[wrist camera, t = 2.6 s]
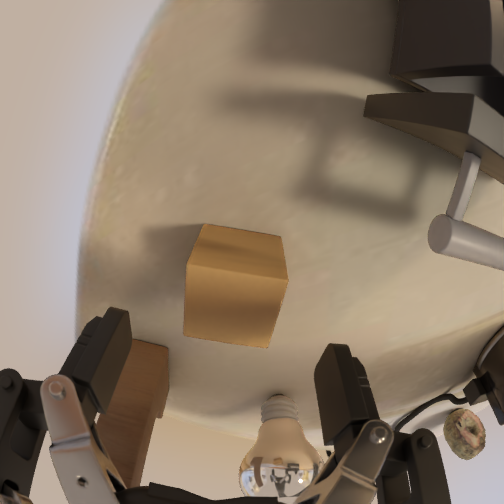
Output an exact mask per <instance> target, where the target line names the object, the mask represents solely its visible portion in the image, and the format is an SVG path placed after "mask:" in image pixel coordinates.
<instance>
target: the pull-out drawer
mask: <svg viewBox="0 0 504 504" xmlns="http://www.w3.org/2000/svg"><path fill="white" fill-rule="evenodd" d="M389 75H390V76H392V77H394V78H396V79H399V80H401V81H403V82H405V83H407V84H409V85H411V86H414V87H416V88H418V89H420V90H422V91H424V92H409V93H389V94H376V95H368V96H367V100H366V104H365V109H364V114H363V116H364V117H366V118H369V119H372V120H375V121H377V122H380V123H383V124H386V125H388V126H391V127H393V128H396V129H398V130H401V131H403V132H406V133H408V134H410V135H413V136H415V137H417V138H420V139H422V140H424V141H426V142H428V143H431V144H433V145H435V146H437V147H439V148H441V149H443V150H445V151H447V152H449V153H451V154H453V155H455V156H457V157H458V158H460V159H462V164H461V167H460V171H459V174H458V178H457V181H456V184H455V187H454V191H453V194H452V197H451V200H450V203H449V205H448V208H447V211H446V214H447V215H448V216H447V215H445V214H441V215H438V216H436V217H435V218H434V219H433V221H432V222H431V224H430V227H429V231H428V243H429V246H430V248H431V249H432V250H433V251H434V252H435V253H439V254H443V255H447V256H451V257H455V258H458V259H462V260H466V261H470V262H474V263H477V264H481V265H485V266H488V267H492V268H496V269H499V270H503V271H504V238H502V237H500V236H498V235H495V234H493V233H491V232H488V231H486V230H483V229H481V228H479V227H476V226H474V225H471V224H469V223H466V222H463V221H462V219H463V216H464V214H465V211H466V208H467V205H468V202H469V200H470V197H471V193H472V190H473V187H474V184H475V181H476V177H477V174H478V170H479V169H480V170H481V171H483V172H485V173H486V174H488V175H490V176H491V177H493V178H495V179H496V180H498V181H499V182H501V183H502V184H504V0H399V5H398V16H397V25H396V33H395V41H394V48H393V55H392V61H391V67H390V73H389Z"/></svg>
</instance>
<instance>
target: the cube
mask: <svg viewBox="0 0 504 504" xmlns="http://www.w3.org/2000/svg"><path fill="white" fill-rule="evenodd" d="M288 282H289V280H288V274H287V268H286V262H285V256H284V250H283V244H282V239H281V237H280V236H274V235H268V234H263V233H257V232H251V231H245V230H239V229H233V228H227V227H221V226H215V225H208V224H204V225H203V227H202V229H201V231H200V234H199V236H198V238H197V241H196V243H195V245H194V248H193V250H192V252H191V255H190V257H189V259H188V262H187V264H186V278H185V299H184V329H183V334H184V336H188V337H194V338H199V339H205V340H211V341H217V342H223V343H230V344H237V345H244V346H252V347H260V348H268V345H269V342H270V339H271V336H272V333H273V330H274V327H275V324H276V321H277V317H278V314H279V311H280V308H281V305H282V301H283V298H284V295H285V292H286V288H287V285H288Z"/></svg>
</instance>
